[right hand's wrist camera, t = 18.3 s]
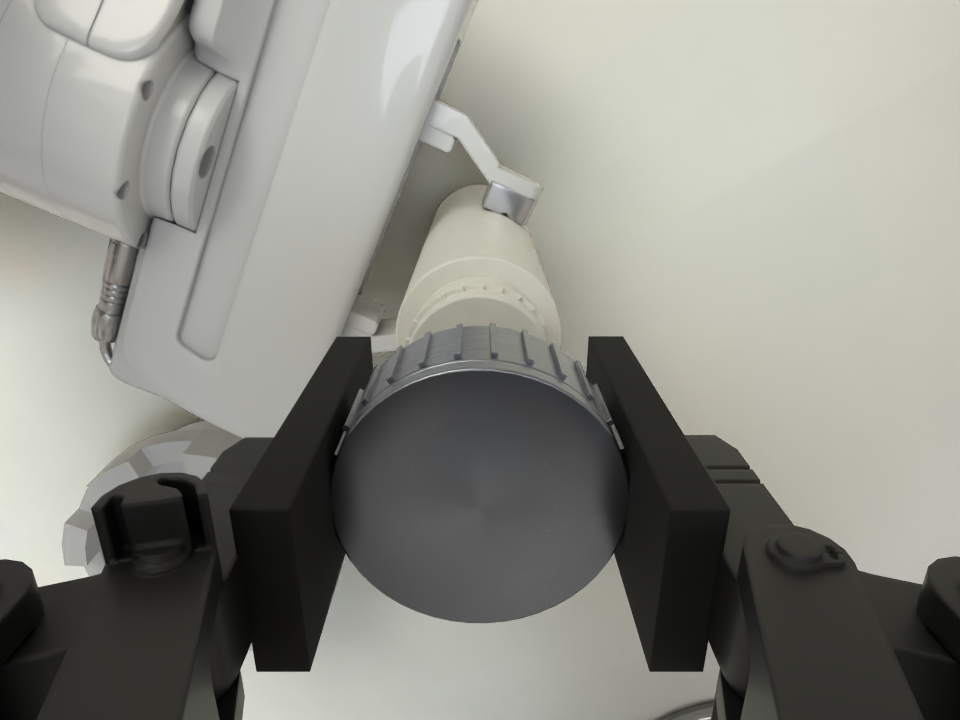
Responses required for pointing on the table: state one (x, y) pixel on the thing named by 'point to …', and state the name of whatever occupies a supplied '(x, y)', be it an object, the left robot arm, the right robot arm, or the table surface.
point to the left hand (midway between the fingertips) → (500, 274)
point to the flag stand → (156, 454)
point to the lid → (479, 476)
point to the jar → (477, 275)
